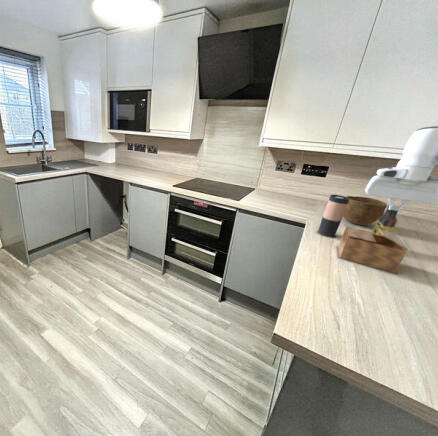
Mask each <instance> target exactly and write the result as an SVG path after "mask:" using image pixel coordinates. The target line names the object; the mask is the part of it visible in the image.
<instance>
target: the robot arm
mask: <svg viewBox="0 0 438 436" xmlns="http://www.w3.org/2000/svg"><path fill="white" fill-rule="evenodd" d="M435 166H438V125H435V126H425V127H420V128H418V129H416V130H415V131H414V132H413V133H412V134H411V136H410V137H409V139H408V141H407V142H406V144H405V146H404V148H403V151H402V156H401V159H400V160H399V161H398V162H397V164H396V166H395V167H394V166H393V167H385V168H379V169H377V171H376V175H374V176H372V177H371V178H370V180H369V181H368V183H367V185H366V187H365V189H364V192H365V194H367V195H371V196H376V197H383V198H388V199H387V200H388V205H389V204H390V206H389V208H388V209H389V210H393V211H398V212H399V213H400V212H401V210H402V208H404V207H405V206H407V205H408V204H409V202H413V203H414V202H415V203H420V204H427V205H434V206H438V176H431V174H432V171H433V170H434V167H435ZM396 200H401V203H400V204H399V205H398V206H395V205H396V204H394V203H393V202H395V201H396ZM393 204H394V205H393ZM398 212H397V213H398Z"/></svg>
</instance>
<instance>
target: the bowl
mask: <svg viewBox="0 0 438 436" xmlns="http://www.w3.org/2000/svg"><path fill="white" fill-rule="evenodd" d="M346 197H348V198H349V202H348V204H347V207H346V210H345V212H344V215H343V219H344V220H346V221H348V222H350V223H352V224H355V225H359V226H366V225H367V226H368V225H372V224H374V223H377V221H378V219H379V218H380V217H381V216H382V215H383V214H384V213H385V212H386V209H387V206H388V204H387V203H386V202H384V201H382V200H379V199H376V198H372V197H367V196H355V195H354V196H353V195H347V196H346Z"/></svg>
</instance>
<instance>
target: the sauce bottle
mask: <svg viewBox="0 0 438 436" xmlns="http://www.w3.org/2000/svg"><path fill="white" fill-rule="evenodd" d="M393 205H395V206H399V205H398V204H394V203H393ZM389 206H390V204H389V203H388V204H387V206H386V209H385V211H384V214H383V215H382V216H381V217H380V218H379V219H378V220H377V221H376V222H375V225H374V227H373V229H372V231H371V232H372V234H375V235H380V236H383V235H382V234H381V232H380V230H379V229H378V227H377V225H378V226H380V227H381V228H383V229H385V230H387V231H388V232H390V233H392V234H393V232H394V229H395V227H396V225H397V223H398V219H397V215H398V211H393V210H389V209H388V208H389Z"/></svg>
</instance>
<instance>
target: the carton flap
mask: <svg viewBox="0 0 438 436" xmlns="http://www.w3.org/2000/svg"><path fill="white" fill-rule="evenodd" d="M377 227H378V229H379V230H380V232H381V234H382V235H383V236H384V237H386V238H387V239H389V240H391V241H392V242H394V243H396V244H398V245H399V246H401V247H403V248H404V249H405V250H406V251H408V247H407V246H406V245H405V244H404V242H403V241H402V239H401V238H400V237H399V236H397V235H395V234H394V233H393V232H392V233H390V232H388V231H387V230H385V229H383V228H381V227H380V226H378V225H377Z"/></svg>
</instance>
